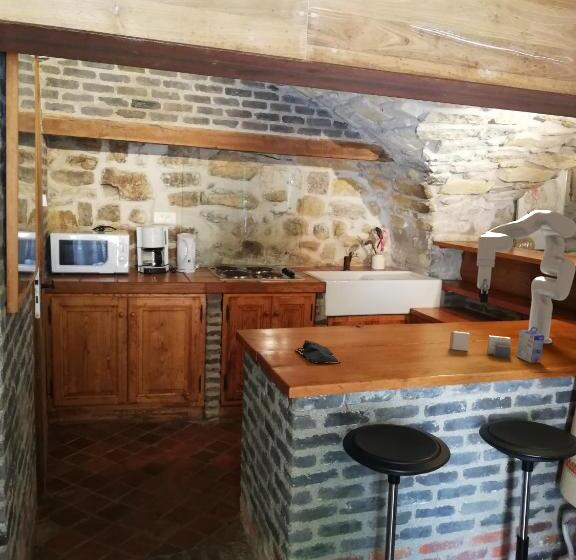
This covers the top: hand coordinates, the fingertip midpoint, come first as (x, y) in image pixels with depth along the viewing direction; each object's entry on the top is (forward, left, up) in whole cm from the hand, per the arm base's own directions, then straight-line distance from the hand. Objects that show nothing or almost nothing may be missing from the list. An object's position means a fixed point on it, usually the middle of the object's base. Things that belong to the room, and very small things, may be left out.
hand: (483, 299), depth 256 cm
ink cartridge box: (+9, +21, -23) cm, 32 cm away
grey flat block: (+6, -9, -23) cm, 25 cm away
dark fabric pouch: (+40, -67, -24) cm, 81 cm away
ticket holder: (+6, +8, -23) cm, 25 cm away
